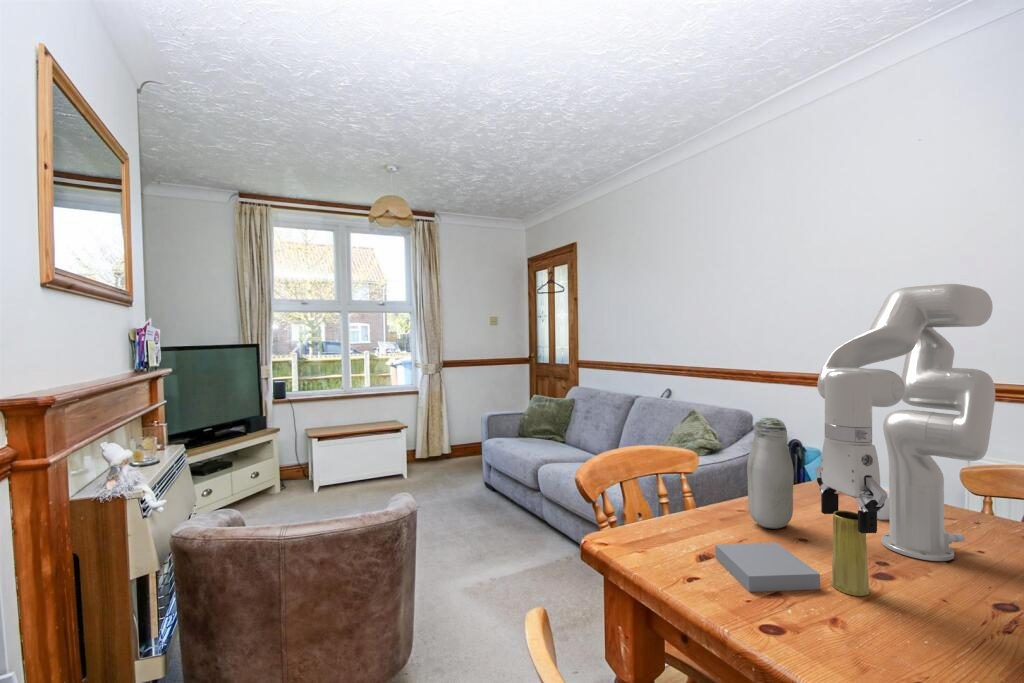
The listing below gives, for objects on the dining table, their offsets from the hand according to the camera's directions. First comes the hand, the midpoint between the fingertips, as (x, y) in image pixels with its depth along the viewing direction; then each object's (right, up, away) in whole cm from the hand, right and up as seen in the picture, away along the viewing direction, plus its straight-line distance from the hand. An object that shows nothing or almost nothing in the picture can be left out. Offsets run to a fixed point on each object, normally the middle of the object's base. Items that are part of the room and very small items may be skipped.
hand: (847, 522), depth 91 cm
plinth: (-12, -13, +7) cm, 19 cm away
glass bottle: (+2, -13, +31) cm, 33 cm away
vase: (+1, -13, +1) cm, 13 cm away
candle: (+34, -12, +37) cm, 51 cm away
